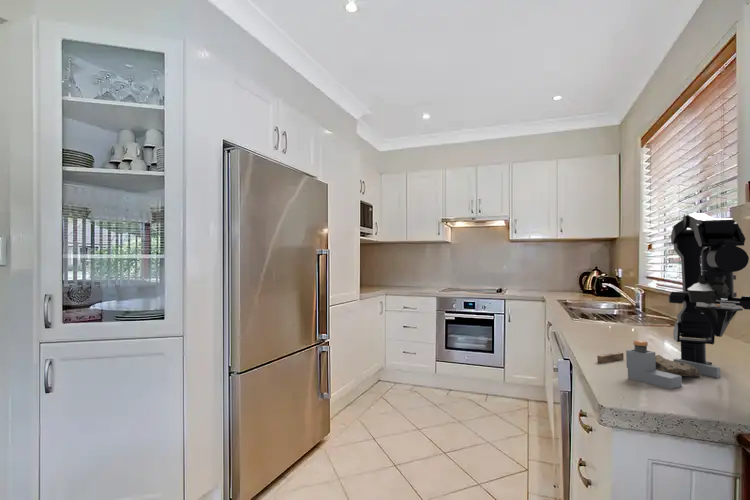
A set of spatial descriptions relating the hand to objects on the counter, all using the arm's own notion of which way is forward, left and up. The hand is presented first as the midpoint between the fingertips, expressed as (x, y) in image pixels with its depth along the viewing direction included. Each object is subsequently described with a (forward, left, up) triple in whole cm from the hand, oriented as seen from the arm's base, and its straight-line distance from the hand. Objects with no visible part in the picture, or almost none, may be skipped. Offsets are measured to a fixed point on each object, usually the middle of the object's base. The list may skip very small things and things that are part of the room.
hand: (718, 336), depth 94 cm
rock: (-1, -11, -12) cm, 17 cm away
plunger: (+10, -12, -8) cm, 18 cm away
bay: (+1, -9, -12) cm, 15 cm away
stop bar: (0, -27, -12) cm, 30 cm away
